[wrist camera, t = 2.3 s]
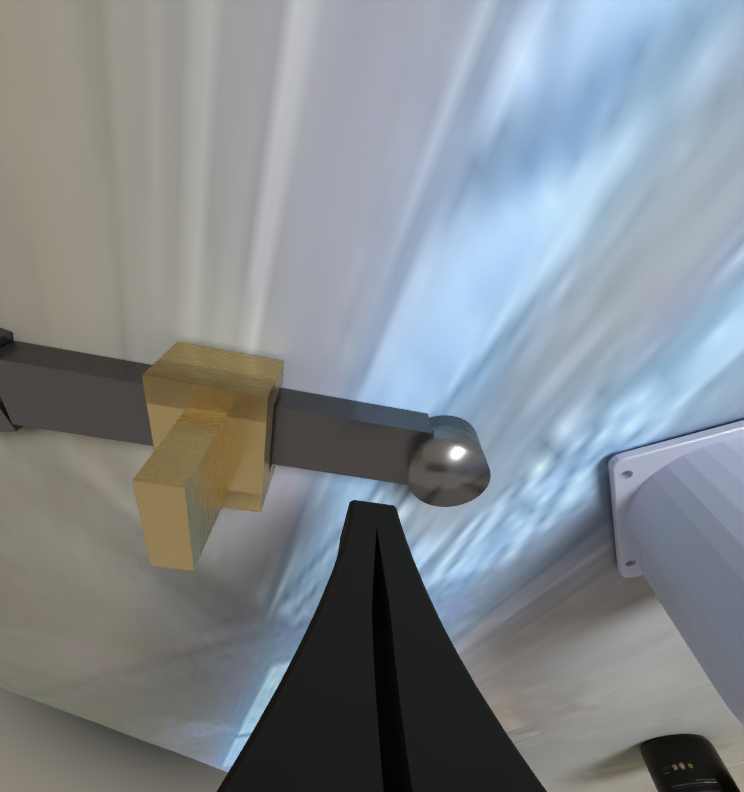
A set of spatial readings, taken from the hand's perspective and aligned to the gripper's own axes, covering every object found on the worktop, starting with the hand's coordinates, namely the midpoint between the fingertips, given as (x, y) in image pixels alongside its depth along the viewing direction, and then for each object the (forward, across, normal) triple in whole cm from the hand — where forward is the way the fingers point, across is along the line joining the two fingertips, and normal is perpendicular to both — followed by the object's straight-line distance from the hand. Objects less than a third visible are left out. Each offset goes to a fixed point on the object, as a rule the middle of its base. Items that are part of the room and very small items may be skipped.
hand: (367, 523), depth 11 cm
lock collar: (+4, +5, 0) cm, 7 cm away
